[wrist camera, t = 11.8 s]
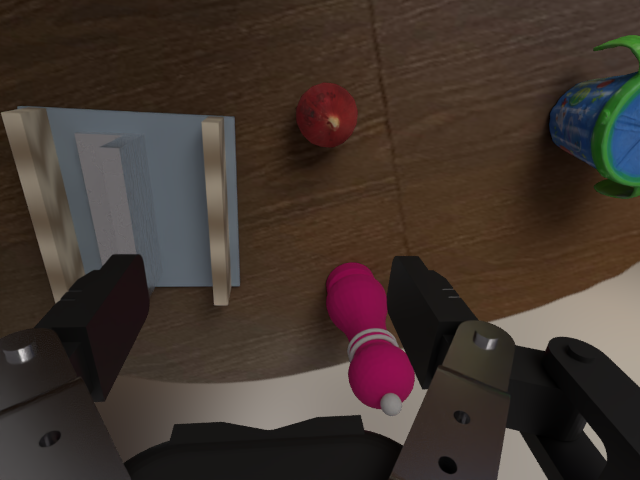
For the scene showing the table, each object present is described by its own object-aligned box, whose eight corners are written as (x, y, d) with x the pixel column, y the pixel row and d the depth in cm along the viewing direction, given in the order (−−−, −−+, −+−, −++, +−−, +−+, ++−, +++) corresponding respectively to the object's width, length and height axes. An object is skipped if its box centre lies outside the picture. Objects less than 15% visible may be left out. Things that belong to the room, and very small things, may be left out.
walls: (28, 107, 35) (0, 112, 32) (223, 117, 38) (218, 123, 34) (74, 286, 44) (56, 307, 40) (231, 286, 46) (227, 305, 42)
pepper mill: (344, 248, 46) (388, 367, 28) (388, 274, 49) (454, 399, 31) (311, 291, 48) (333, 426, 30) (355, 314, 51) (399, 452, 33)
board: (21, 105, 36) (16, 106, 35) (234, 116, 38) (234, 117, 38) (67, 284, 44) (65, 287, 44) (240, 283, 47) (239, 286, 46)
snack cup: (534, 51, 39) (614, 48, 30) (633, 26, 39) (744, 15, 30) (530, 191, 46) (593, 223, 37) (613, 169, 46) (698, 197, 37)
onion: (285, 125, 39) (288, 140, 32) (308, 70, 37) (316, 73, 30) (335, 147, 41) (348, 166, 34) (359, 96, 39) (378, 104, 32)
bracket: (80, 131, 37) (41, 145, 31) (144, 133, 37) (119, 148, 31) (108, 272, 43) (82, 306, 37) (162, 272, 44) (145, 305, 38)
